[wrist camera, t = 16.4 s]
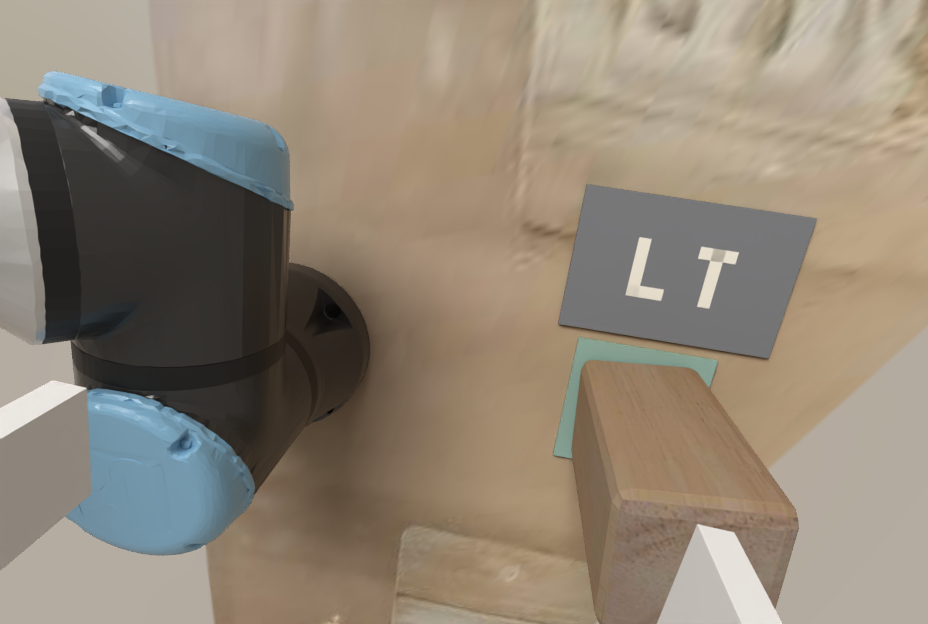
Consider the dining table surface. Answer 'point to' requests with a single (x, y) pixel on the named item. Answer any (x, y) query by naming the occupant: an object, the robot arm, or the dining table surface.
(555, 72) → the dining table surface
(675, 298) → the mat
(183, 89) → the dining table surface
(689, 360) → the pad
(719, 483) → the wooden block
